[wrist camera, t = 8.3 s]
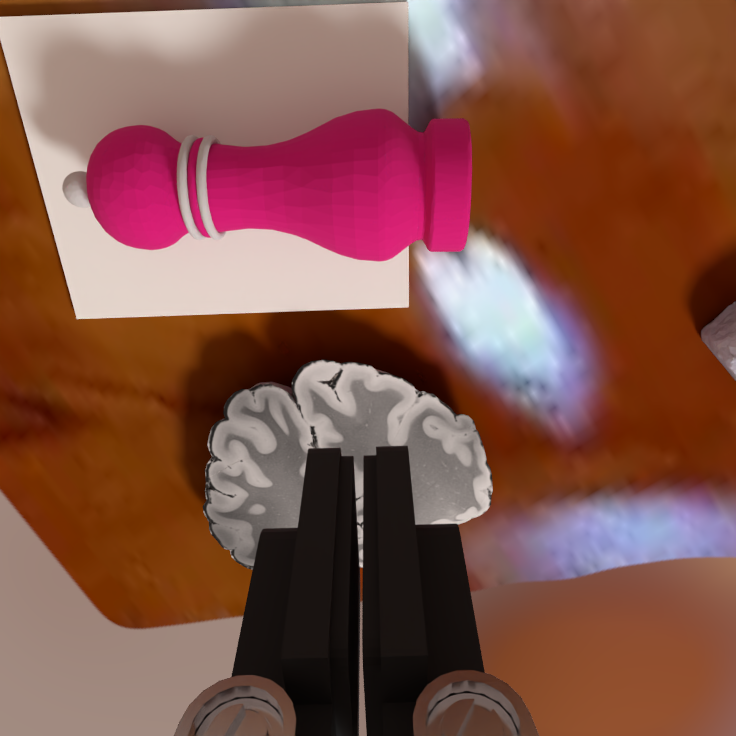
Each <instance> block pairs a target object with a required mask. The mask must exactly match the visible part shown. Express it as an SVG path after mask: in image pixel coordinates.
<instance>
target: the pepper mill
mask: <svg viewBox="0 0 736 736" xmlns="http://www.w3.org/2000/svg"><path fill="white" fill-rule="evenodd" d="M471 184H472V145H471V133H470V127H469V123H468V121H467V120H465V119H464V118H462V119H432V120H431V121H430V122H429V124H428V126H427V128H426V130H425V131H424V132H418V131H416V130H415V129H413V128H412V127H410V126H409V125H408V124H407V123H406V122H404V121H403V120H402V119H401V118H400V117H398V116H397V115H396V114H394V113H393V112H391V111H389V110H387V109H381V108H378V109H369V110H360V111H355V112H352V113H349V114H345V115H342V116H339V117H336V118H334V119H332V120H330V121H328V122H326V123H324V124H322V125H320V126H318V127H317V128H315V129H313V130H311V131H309V132H307V133H305V134H302V135H300V136H298V137H295V138H293V139H290V140H287V141H283V142H279V143H275V144H271V145H265V146H250V147H242V146H232V145H223V144H221V143H220V141H219V140H218V139H217V138H216V137H215V136H213V135H208V136H206V137H205V138H203V137H202V138H198V137H196V136H194V135H190V136H187V137H186V138H185V139H184V141H183V142H182V143H180V142H178V141H177V140H175V139H174V138H173V137H172V136H170V135H169V134H168V133H166V132H165V131H163V130H161V129H159V128H156V127H152V126H147V125H135V126H127V127H123V128H119V129H117V130H114V131H112V132H110V133H109V134H108V135H106V136H105V137H104V138H103V139H102V140H101V141H100V142H99V143H98V144H97V145H96V147H95V148H94V150H93V152H92V154H91V156H90V159H89V162H88V166H87V172H84V171H76V172H73V173H70V174H69V175H68V176H66V178H65V179H64V182H63V186H62V190H63V193H64V196H65V198H66V199H67V200H68V201H69V202H70V203H71V204H72V205H75V206H77V207H82V208H86V207H91V209H92V211H93V214H94V216H95V218H96V220H97V221H98V222H99V224H100V225H101V226H102V228H103V229H104V230H105V232H106V233H108V234H109V235H110V236H111V237H112V238H114V239H115V240H117V241H118V242H120V243H122V244H124V245H126V246H130V247H133V248H137V249H145V250H158V249H163V248H167V247H169V246H171V245H173V244H175V243H177V242H178V241H179V240H180V239H181V238H182V237H183V236H184V235H186V234H187V233H190V235H191V236H192V237H193V238H195V239H196V240H202V239H204V238H206V237H207V238H213V239H214V240H220V239H222V238H223V237H224V236H225V234H226V232H227V231H233V230H241V229H267V230H275V231H280V232H284V233H288V234H292V235H295V236H298V237H301V238H303V239H306V240H309V241H311V242H313V243H315V244H317V245H319V246H321V247H323V248H325V249H328V250H330V251H332V252H335V253H337V254H339V255H342V256H346V257H350V258H353V259H357V260H366V261H378V262H380V261H387V260H389V259H392V258H393V257H395V256H396V255H398V254H399V253H400V252H401V251H403V250H404V249H405V248H406V247H408V246H409V245H410V244H411V243H413V242H415V241H416V240H421V239H422V240H423V241H424V243H425V245H426V247H427V249H428V250H429V251H431V252H448V251H461V250H463V249H464V247H465V244H466V241H467V235H468V229H469V219H470V206H471Z"/></svg>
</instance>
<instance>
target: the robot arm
mask: <svg viewBox="0 0 736 736" xmlns="http://www.w3.org/2000/svg"><path fill="white" fill-rule="evenodd" d="M362 632H363V633H362V635H363V636H362V639H363V675H364V692H365V708H366V709H365V710H366V728H367V736H539V735H538V732H537V729H536V727H535V724H534V722H533V719H532V717H531V714H530V712H529V711H528V709H527V707H526V705H525V703H524V702H523V700H522V698H521V697H520V696H519V695H518V694H517V693H516V692H515V691H514V690H513V689H512V688H511V687H510V686H509V685H508V684H507V683H505V682H503V681H502V680H500V679H498V678H496V677H495V676H493V675H491V674H487V673H485V672H484V667H483V661H482V656H481V650H480V644H479V639H478V633H477V627H476V621H475V616H474V610H473V605H472V599H471V593H470V587H469V582H468V576H467V570H466V565H465V559H464V553H463V548H462V542H461V536H460V532H459V527H458V525H457V524H419V525H415V514H414V504H413V493H412V483H411V472H410V461H409V451H408V446H378V447H376V455H364V457H363V630H362ZM359 649H360V565H359V547H358V528H357V509H356V491H355V472H354V457H353V456H342V454H341V448H309V449H308V453H307V460H306V468H305V475H304V483H303V491H302V498H301V506H300V514H299V522H298V528H266V529H262V531H261V533H260V537H259V541H258V546H257V551H256V556H255V561H254V567H253V572H252V577H251V582H250V587H249V592H248V597H247V602H246V607H245V612H244V617H243V622H242V627H241V632H240V637H239V642H238V647H237V652H236V657H235V662H234V668H233V673H232V677H231V678H227V679H224V680H221V681H219V682H217V683H215V684H214V685H212V686H210V687H209V688H207V689H205V690H204V691H203V692H202V693H201V694H200V695H199V696H198V697H197V698H196V699H195V700H194V701H193V702H192V703H191V704H190V705H189V706H188V708H187V710H186V712H185V713H184V715H183V717H182V719H181V720H180V722H179V724H178V727H177V729H176V732H175V734H174V736H359V657H360V656H359V655H360V650H359Z"/></svg>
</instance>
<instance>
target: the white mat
mask: <svg viewBox="0 0 736 736" xmlns="http://www.w3.org/2000/svg"><path fill="white" fill-rule="evenodd" d="M0 40H1V44H2V48H3V51H4V55H5V59H6V62H7V66H8V70H9V73H10V77H11V80H12V84H13V88H14V91H15V95H16V99H17V102H18V106H19V110H20V113H21V117H22V121H23V124H24V128H25V132H26V135H27V139H28V142H29V146H30V150H31V153H32V157H33V161H34V164H35V168H36V172H37V175H38V179H39V183H40V186H41V190H42V194H43V197H44V201H45V205H46V208H47V212H48V215H49V219H50V223H51V226H52V230H53V234H54V237H55V241H56V245H57V248H58V252H59V256H60V259H61V263H62V267H63V270H64V274H65V277H66V281H67V285H68V288H69V292H70V296H71V299H72V303H73V307H74V310H75V314H76V318H77V319H91V318H119V317H147V316H175V315H203V314H232V313H260V312H288V311H316V310H344V309H372V308H400V307H409V246H408V247H406V248H405V249H404V250H403V251H401V252H400V253H399V254H398V255H396V256H395V257H393V258H392V259H389V260H387V261H380V262H378V261H366V260H357V259H353V258H350V257H346V256H342V255H339V254H337V253H335V252H332V251H330V250H328V249H325V248H323V247H321V246H319V245H317V244H315V243H313V242H311V241H309V240H306V239H303V238H301V237H298V236H295V235H292V234H288V233H284V232H280V231H275V230H267V229H241V230H233V231H227V232H226V234H225V236H224V237H223V238H222V239H220V240H214V239H213V238H207V237H206V238H204V239H202V240H196V239H195V238H193V237H192V236H191V235H190V233H187V234H186V235H184V236H183V237H182V238H181V239H180V240H179V241H178V242H177V243H175V244H173V245H171V246H169V247H167V248H163V249H158V250H145V249H137V248H133V247H130V246H126V245H124V244H122V243H120V242H118V241H117V240H115V239H114V238H112V237H111V236H110V235H109V234H108V233H106V232H105V230H104V229H103V228H102V226H101V225H100V224H99V222H98V221H97V220H96V218H95V216H94V214H93V211H92V209H91V207H86V208H82V207H77V206H75V205H72V204H71V203H70V202H69V201H68V200H67V199H66V198H65V196H64V193H63V190H62V186H63V182H64V179H65V178H66V176H68V175H69V174H70V173H73V172H76V171H84V172H87V166H88V162H89V159H90V156H91V154H92V152H93V150H94V148H95V147H96V145H97V144H98V143H99V142H100V141H101V140H102V139H103V138H104V137H105V136H106V135H108V134H109V133H110V132H112V131H114V130H117V129H119V128H123V127H127V126H135V125H147V126H152V127H156V128H159V129H161V130H163V131H165V132H166V133H168V134H169V135H170V136H172V137H173V138H174V139H175V140H177V141H178V142H180V143H182V142H183V141H184V139H185V138H186V137H187V136H190V135H194V136H196V137H198V138H202V137H203V138H205V137H206V136H208V135H213V136H215V137H216V138H217V139H218V140H219V141H220V143H221V144H223V145H232V146H242V147H250V146H265V145H271V144H275V143H279V142H283V141H287V140H290V139H293V138H295V137H298V136H300V135H302V134H305V133H307V132H309V131H311V130H313V129H315V128H317V127H318V126H320V125H322V124H324V123H326V122H328V121H330V120H332V119H334V118H336V117H339V116H342V115H345V114H349V113H352V112H355V111H360V110H369V109H378V108H381V109H387V110H389V111H391V112H393V113H394V114H396V115H397V116H398V117H400V118H401V119H402V120H403V121H404V122H406V123H407V124H408V2H390V3H363V4H336V5H308V6H281V7H254V8H227V9H200V10H173V11H146V12H119V13H92V14H65V15H38V16H11V17H0Z"/></svg>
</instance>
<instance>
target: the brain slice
mask: <svg viewBox="0 0 736 736" xmlns="http://www.w3.org/2000/svg"><path fill="white" fill-rule="evenodd" d="M224 417H225V418H224V419H222V420H220V421H217V422H216V423H215V424H214V425H213V427H212V428H211V431H210V435H209V439H208V445H207V446H208V448H209V451H210V454H211V456H212V457H211V458H210V460H209V461H208V463H207V466H206V469H205V477H206V488H205V494H206V500H207V501H206V502H205V504H204V505H203V511H204V514H205V516H206V518H207V520H208V521H209V530H210V532H211V534H212V536H213V537H214V538H215V539H216V540H217V541H218V542H219V544H220V545H221V546H222V547H223V548H224V549H227V550H230V553H231V556H232V558H233V559H234V560H235V561H236V562H237V563H239V564H241V565H242V566H244V567H246V568H249V569H252V570H253V567H254V561H255V556H256V551H257V546H258V541H259V537H260V533H261V531H262V529H266V528H298V522H299V514H300V506H301V498H302V491H303V483H304V475H305V468H306V460H307V453H308V449H309V448H341V454H342V456H353V457H354V472H355V491H356V509H357V528H358V547H359V565H360V567H363V457H364V455H376V447H378V446H408V451H409V461H410V472H411V483H412V493H413V504H414V514H415V525H419V524H457V525H458V524H461V523H464V522H467V521H469V520H470V519H472V518H475V517H477V516H480V515H481V514H483V513H484V512H485V511H487V510H488V508H489V507H490V505H491V495H492V492H493V489H492V474H491V470H490V467H489V465H488V464H487V460H486V454H485V451H484V448H483V444H482V441H481V438H480V435H479V432H478V431H477V430H476V428H475V424H474V421H473V420H472V419H471V418H470V417H469V416H468V415H464V414H459V415H456V414H455V413H454V412H453V410H452V409H451V408H450V407H449V406H447V405H446V404H445V403H444V402H442V401H441V400H440V399H439V398H437V397H436V396H435V395H434V394H430V393H426V392H424V391H420V392H419V391H418V390H416V389H415V387H414V386H413V385H412V384H411V383H410V382H408V381H407V380H405V379H403V378H400V377H397V376H395V375H392V374H389V373H387V372H384V371H381V370H378V369H375V368H373V367H372V366H370V365H366V364H362V363H357V362H345V363H338V362H335V361H330V360H317V361H311V362H309V363H307V364H304V365H302V366H301V368H300V369H299V370H298V371H297V373H296V375H295V376H294V378H293V380H292V388H291V387H288V386H285V385H282V384H278V383H275V382H262V383H258V384H256V385H254V386H253V387H251V388H250V389H241V390H239V391H237V392H235V393H234V394H233V395H232V396H231V397H230V398H229V399H228V400H227V402H226V403H225V405H224Z"/></svg>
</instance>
